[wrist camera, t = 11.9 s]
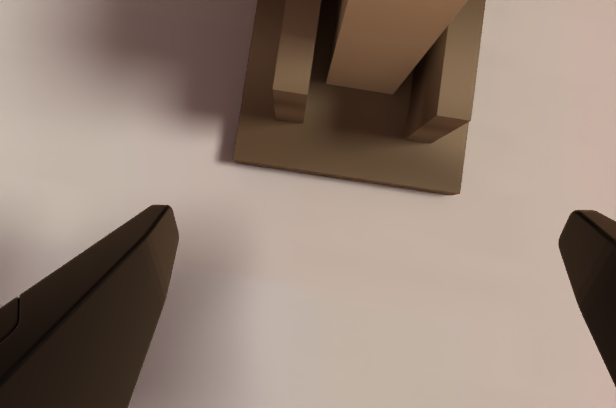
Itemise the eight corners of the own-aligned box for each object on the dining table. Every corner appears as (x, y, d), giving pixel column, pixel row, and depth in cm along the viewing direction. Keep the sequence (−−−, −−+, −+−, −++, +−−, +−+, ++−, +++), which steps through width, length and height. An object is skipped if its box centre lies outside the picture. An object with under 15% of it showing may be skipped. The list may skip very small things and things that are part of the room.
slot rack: (452, 195, 19) (507, 184, 14) (235, 162, 19) (217, 140, 14) (488, -95, 20) (551, -195, 15) (281, -132, 20) (279, -247, 15)
